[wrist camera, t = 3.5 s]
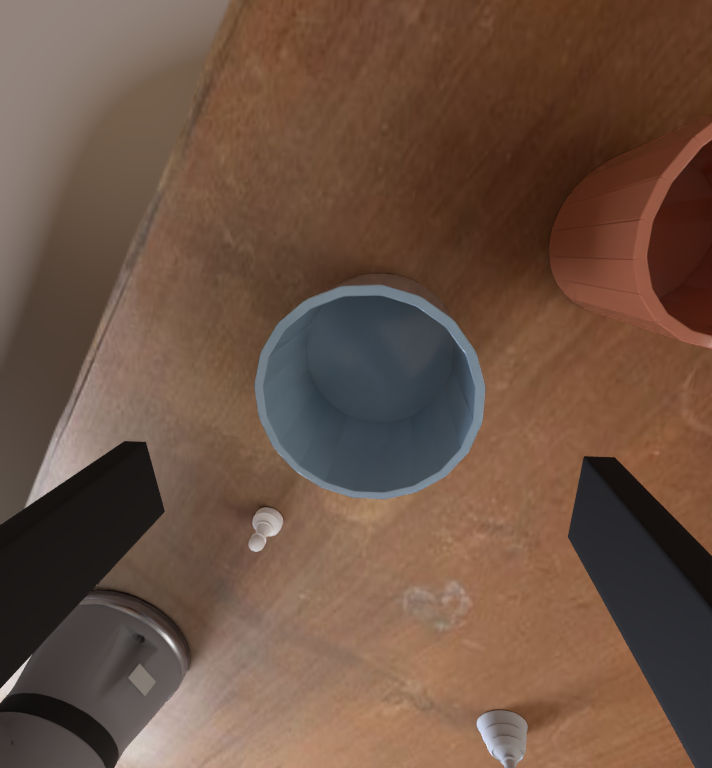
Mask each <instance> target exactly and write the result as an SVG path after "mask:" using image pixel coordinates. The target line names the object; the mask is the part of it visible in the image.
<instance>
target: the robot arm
mask: <svg viewBox="0 0 712 768" xmlns="http://www.w3.org/2000/svg"><path fill="white" fill-rule="evenodd" d="M164 512H165V511H164V507H163V503H162V500H161V496H160V492H159V489H158V485H157V481H156V478H155V474H154V470H153V467H152V463H151V459H150V455H149V452H148V448H147V444H146V442H133V441H124V442H123V443H121V444H120V445H118V446H117V447H115V448H114V449H112V450H111V451H109V452H108V453H106V454H105V455H103V456H102V457H100V458H99V459H97V460H96V461H94V462H93V463H92V464H90V465H89V466H87V467H86V468H84V469H83V470H81V471H80V472H78V473H77V474H75V475H74V476H72V477H71V478H69V479H68V480H66V481H65V482H63V483H62V484H60V485H59V486H57V487H56V488H55V489H53V490H52V491H50V492H49V493H47V494H46V495H44V496H43V497H41V498H40V499H38V500H37V501H35V502H34V503H32V504H31V505H29V506H28V507H26V508H25V509H23V510H22V511H21V512H19V513H17V514H16V515H15V516H13V517H12V518H10V519H9V520H7V521H6V522H4V523H3V524H1V525H0V688H1V687H2V686H3V685H4V684H5V683H6V682H7V681H8V680H9V679H10V678H11V677H12V675H13V674H14V673H15V672H16V671H17V670H18V669H19V668H20V667H21V666H22V665H23V664H24V663H25V661H26V660H27V659H28V658H29V657H30V656H31V655H32V656H31V658H30V659H29V661H28V663H27V665H26V666H25V668H24V670H23V672H22V673H21V675H20V677H19V679H18V680H17V682H16V684H15V686H14V687H13V689H12V690H11V692H10V693H9V694H8V695H7V696H6V697H5V698H4V700H3V701H2V702H1V703H0V768H114V767H115V765H116V763H117V762H118V760H119V758H120V756H121V755H122V753H123V751H124V750H125V749H126V748H127V746H128V745H129V744H130V743H131V742H132V741H133V739H134V738H135V737H136V736H137V735H138V734H139V733H140V732H141V730H142V729H143V728H144V727H145V726H146V725H147V724H148V723H149V721H150V720H151V719H152V718H153V717H154V716H155V714H156V713H157V712H158V711H159V710H160V708H161V707H162V706H163V705H164V704H165V702H166V701H168V700H169V699H170V698H171V697H172V695H173V694H174V693H175V692H176V690H177V689H178V687H179V686H180V684H181V682H182V680H183V678H184V676H185V674H186V672H187V670H188V668H189V665H190V651H189V648H188V645H187V642H186V640H185V638H184V637H183V635H182V633H181V632H180V631H179V629H178V628H177V627H176V626H175V625H174V623H173V622H172V621H171V620H170V619H169V618H167V617H166V616H165V615H164V614H163V613H161V612H160V611H159V610H157V609H156V608H154V607H153V606H151V605H149V604H147V603H145V602H144V601H141V600H139V599H137V598H134V597H132V596H129V595H126V594H122V593H118V592H113V591H92V589H93V588H94V587H95V586H96V585H97V584H98V583H99V582H100V581H101V580H102V579H103V578H104V577H105V575H106V574H107V573H108V572H109V571H110V570H111V569H112V568H113V567H114V566H115V565H116V564H117V563H118V561H119V560H120V559H121V558H122V557H123V556H124V555H125V554H126V553H127V552H128V551H129V550H130V549H131V547H132V546H133V545H134V544H135V543H136V542H137V541H138V540H139V539H140V538H141V537H142V536H143V535H144V534H145V532H146V531H147V530H148V529H149V528H150V527H151V526H152V525H153V524H154V523H155V522H156V521H157V520H158V518H159V517H160V516H161V515H162V514H163V513H164ZM568 538H569V540H570V542H571V543H572V545H573V547H574V549H575V551H576V553H577V554H578V556H579V558H580V560H581V562H582V563H583V565H584V567H585V569H586V571H587V572H588V574H589V576H590V578H591V580H592V582H593V583H594V585H595V587H596V589H597V591H598V592H599V594H600V596H601V598H602V600H603V601H604V603H605V605H606V607H607V609H608V611H609V612H610V614H611V616H612V618H613V620H614V621H615V623H616V625H617V627H618V629H619V630H620V632H621V634H622V636H623V638H624V640H625V641H626V643H627V645H628V647H629V649H630V650H631V652H632V654H633V656H634V658H635V660H636V661H637V663H638V665H639V667H640V669H641V670H642V672H643V674H644V676H645V678H646V679H647V681H648V683H649V685H650V687H651V689H652V690H653V692H654V694H655V696H656V698H657V699H658V701H659V703H660V705H661V707H662V708H663V710H664V712H665V714H666V716H667V718H668V719H669V721H670V723H671V725H672V727H673V728H674V730H675V732H676V734H677V736H678V737H679V739H680V741H681V743H682V745H683V747H684V748H685V750H686V752H687V754H688V756H689V757H690V759H691V761H692V763H693V765H694V767H695V768H712V556H711V555H710V554H709V553H708V552H707V551H706V550H705V549H704V548H703V547H702V546H701V545H700V543H699V542H698V541H697V540H696V539H695V538H694V537H693V536H692V535H691V534H690V533H689V532H688V531H687V530H686V529H685V528H684V527H683V526H682V525H681V524H680V523H679V522H678V521H677V520H676V519H675V518H674V517H673V516H672V515H671V514H670V513H669V512H668V511H667V510H666V509H665V508H664V507H663V506H662V505H661V504H660V503H659V502H658V501H657V500H656V499H655V498H654V497H653V496H652V495H651V494H650V493H649V492H648V491H647V490H646V489H645V488H644V487H643V486H642V485H641V484H640V483H639V482H638V481H637V480H636V479H635V478H634V477H633V476H632V475H631V474H630V472H629V471H628V470H627V469H626V468H625V467H624V466H623V465H622V464H621V463H620V462H619V461H618V460H617V459H616V458H615V457H587V456H584V458H583V463H582V469H581V474H580V479H579V484H578V489H577V494H576V499H575V504H574V509H573V514H572V519H571V524H570V529H569V534H568Z"/></svg>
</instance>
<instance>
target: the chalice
mask: <svg viewBox="0 0 712 768" xmlns="http://www.w3.org/2000/svg"><path fill="white" fill-rule="evenodd" d="M477 728H478V730H479V731H480V733H481V734H482V738H483V740H484V742H485V743H486V745H487V748H488V750H489V752H490V753H491V754H492V756H493V757H494V758H495V759H497V760H499V761H501V763H502V764H503V765H504V767H505V768H516V765H517V763H518V762H519V761H520V760H522V758H523V757H524V754H525V752H526V746H525V745H526V740H527V737H526V733H527V728H528V725H527V723H526V721H525V720H524V719H523V718H522V717H521V716H519V715H517V714H516V713H513V712H509V711H504V710H495V711H490V712H487V713H484V714H483V715H482V716H480V717H479V719H478V721H477Z"/></svg>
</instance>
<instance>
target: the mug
mask: <svg viewBox="0 0 712 768" xmlns="http://www.w3.org/2000/svg"><path fill="white" fill-rule="evenodd" d="M549 260H550V266H551V270H552V273H553V276H554V278H555V280H556V282H557V285H558V286H559V287H560V289H561V290H562V292H563V293H564V294H565V295H566V296H567V297H568V298H569V299H570V300H572V301H573V302H574V303H576V304H577V305H579V306H581V307H583V308H585V309H586V310H589V311H591V312H594V313H597V314H600V315H603V316H606V317H609V318H613V319H616V320H619V321H622V322H625V323H628V324H631V325H634V326H637V327H640V328H643V329H646V330H649V331H652V332H656V333H659V334H662V335H665V336H668V337H671V338H674V339H677V340H680V341H683V342H687V343H690V344H694V345H698V346H702V347H706V348H710V349H712V114H711V115H709V116H706V117H704V118H702V119H700V120H697V121H695V122H693V123H691V124H688V125H686V126H684V127H682V128H680V129H677V130H675V131H673V132H671V133H668V134H666V135H664V136H662V137H659V138H657V139H655V140H653V141H651V142H648V143H646V144H644V145H642V146H639V147H637V148H635V149H633V150H630V151H628V152H626V153H624V154H622V155H619V156H617V157H615V158H613V159H610V160H609V161H607V162H606V163H604V164H602V165H601V166H599V167H598V168H596V169H595V170H593V171H592V172H591V173H590V174H588V175H587V176H586V177H585V178H584V179H583V180H582V181H581V182H580V183H579V184H578V185H577V186H576V187H575V188H574V189H573V191H572V192H571V193H570V194H569V196H568V197H567V199H566V200H565V202H564V203H563V205H562V206H561V208H560V210H559V212H558V214H557V216H556V219H555V222H554V225H553V228H552V232H551V236H550V243H549Z"/></svg>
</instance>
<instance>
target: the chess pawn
mask: <svg viewBox="0 0 712 768" xmlns="http://www.w3.org/2000/svg"><path fill="white" fill-rule="evenodd" d="M252 524H253V527H254V529H255V530H256V533H254V534H253V535H252V536H251V539H250V540H249V543H248V545H249V548H250V549H251V550H252V551H254V552H258V551H260V550H262V549H263V547H264V545H265V543H266V537H267V536H274V535H276V534H277V533H278V532H279V531H280V529H281V527H282V525H283V518H282V516H281V514H280V513H279V512H278V511H276V510H275V509H273V508H269V507H264V508H261V509H259V510H258V511H257V512H256V514H255V516H254V517H253V520H252Z"/></svg>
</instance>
